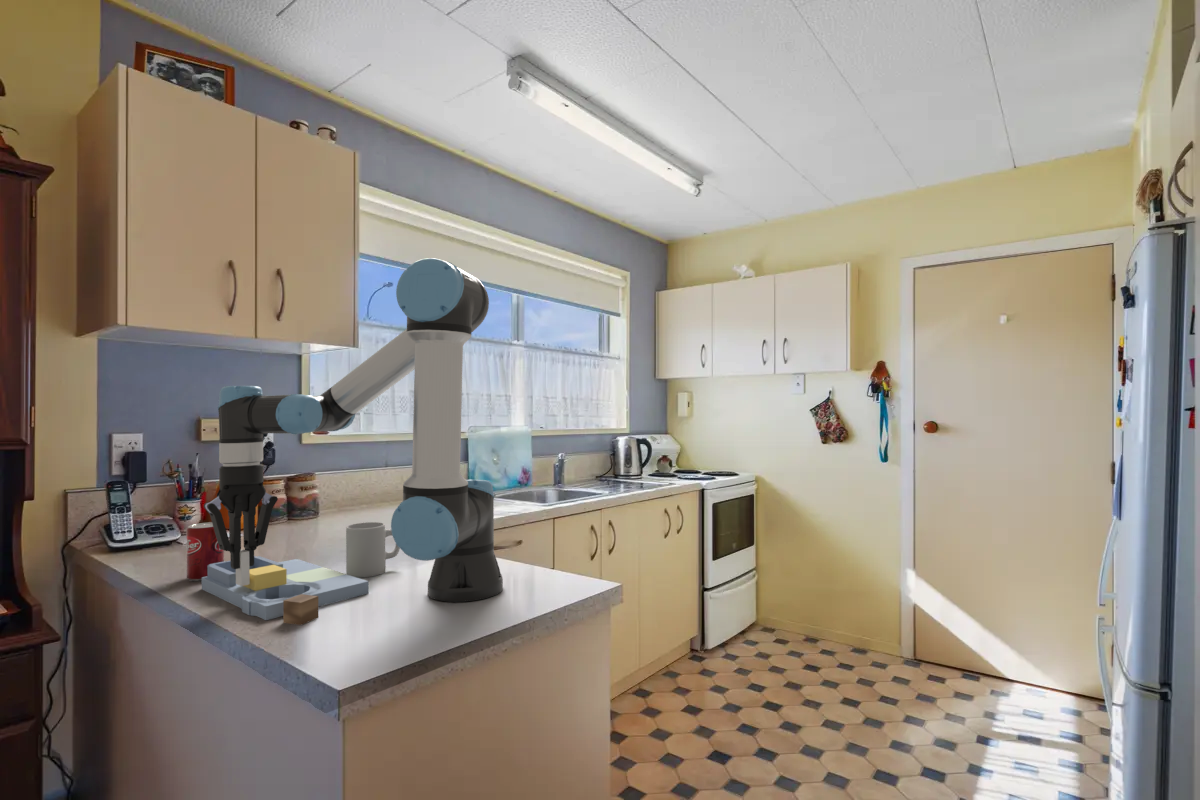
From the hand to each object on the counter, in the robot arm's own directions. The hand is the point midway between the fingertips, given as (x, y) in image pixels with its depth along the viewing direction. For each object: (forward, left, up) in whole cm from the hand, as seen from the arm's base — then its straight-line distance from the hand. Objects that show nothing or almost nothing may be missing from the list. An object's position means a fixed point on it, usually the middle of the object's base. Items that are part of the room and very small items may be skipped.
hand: (242, 583), depth 121 cm
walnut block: (-19, -2, -4) cm, 20 cm away
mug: (+1, -28, -4) cm, 29 cm away
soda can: (+28, -2, -4) cm, 28 cm away
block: (+1, -4, -1) cm, 5 cm away
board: (+2, -8, -4) cm, 9 cm away
